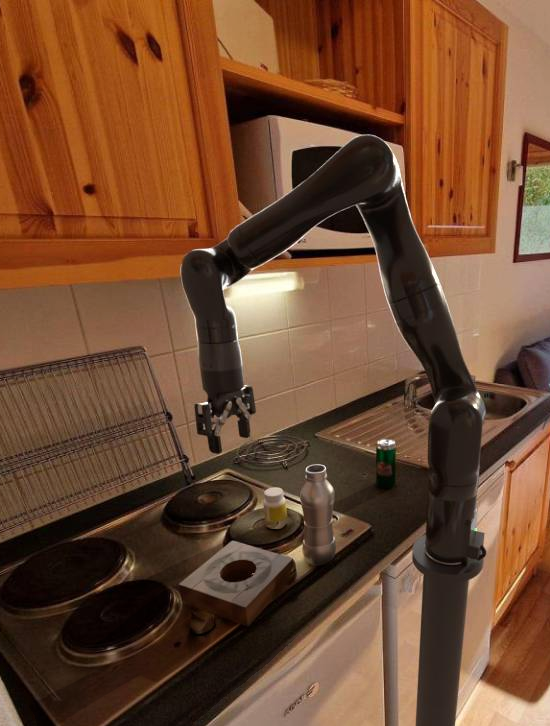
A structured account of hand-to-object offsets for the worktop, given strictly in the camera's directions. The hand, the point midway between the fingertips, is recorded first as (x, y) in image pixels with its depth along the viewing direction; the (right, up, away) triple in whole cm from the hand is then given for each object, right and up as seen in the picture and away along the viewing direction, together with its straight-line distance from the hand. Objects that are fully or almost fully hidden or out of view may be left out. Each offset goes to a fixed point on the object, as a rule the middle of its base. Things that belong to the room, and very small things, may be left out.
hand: (231, 444), depth 94 cm
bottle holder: (+4, -26, -8) cm, 27 cm away
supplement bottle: (+6, -18, +11) cm, 23 cm away
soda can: (+31, -11, +29) cm, 44 cm away
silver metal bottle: (+18, -23, 0) cm, 29 cm away
